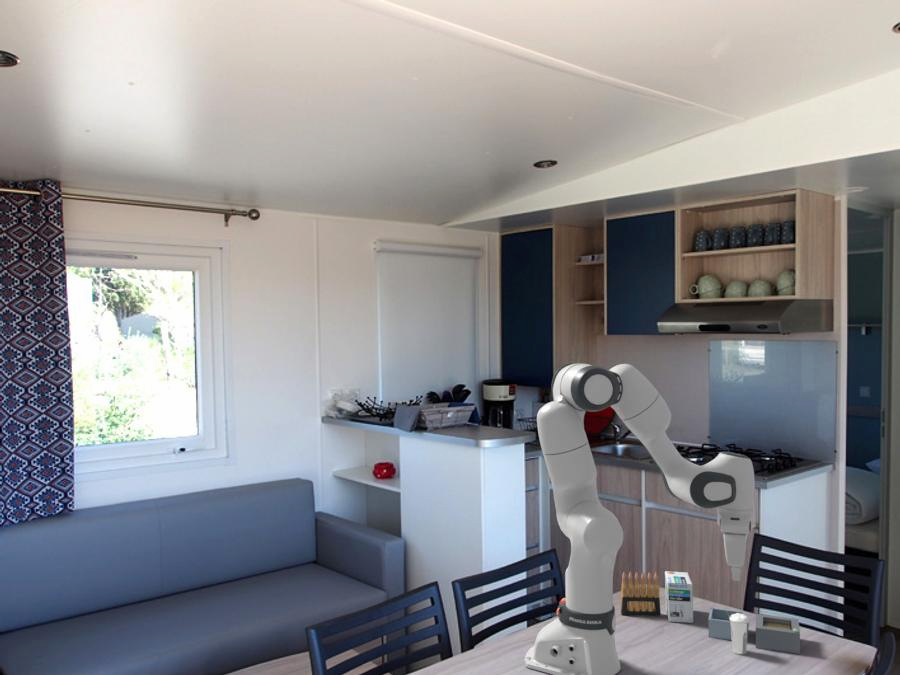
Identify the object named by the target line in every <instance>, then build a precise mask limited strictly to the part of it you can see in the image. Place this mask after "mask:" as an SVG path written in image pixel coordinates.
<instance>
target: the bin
mask: <svg viewBox="0 0 900 675" xmlns="http://www.w3.org/2000/svg"><path fill="white" fill-rule="evenodd" d="M726 611H727V612H726ZM727 613H728V614H727ZM736 613H740V614H744V615H745V616H746V612H745V611H741V610H732V609H726V608H725V609H724V608H716V607H710V609H709V615H708V618H707V619H708V621H707V622H708V624H707V625H708V637H709V638H713V639H720V640H728V641H732V639H731V628H730V619H729V618H730V616H731V615H732V614H736ZM728 615H729V616H728Z"/></svg>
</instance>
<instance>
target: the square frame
mask: <svg viewBox="0 0 900 675" xmlns="http://www.w3.org/2000/svg"><path fill="white" fill-rule="evenodd" d="M764 622H768V623H775V624H783V625H790V630H788V629H780V628H773V627H765V626H764ZM755 649H762V650H769V651H775V652H776V651H777V652H783V653H788V654H797V655H801V631H800V621H799V618H795V617H794V618H793V617H786V616H777V615H771V614H769V615H768V614H761V613H756V614H755Z"/></svg>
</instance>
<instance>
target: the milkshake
mask: <svg viewBox="0 0 900 675" xmlns="http://www.w3.org/2000/svg"><path fill="white" fill-rule="evenodd" d="M726 612H727V611H726ZM727 614H728V613H727ZM728 616H729V615H728ZM729 619H730V628H731V639H732V640H731V647H732V648H731V650H732V652H733V653H734V654H736V655H746V654H747V653H748V643H749V642H748V641H749V626H750V619H749V617H748V616H747V615H746V614H745V615H744V614H740V613H736V614H732V615H731V616H730V618H729Z"/></svg>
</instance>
